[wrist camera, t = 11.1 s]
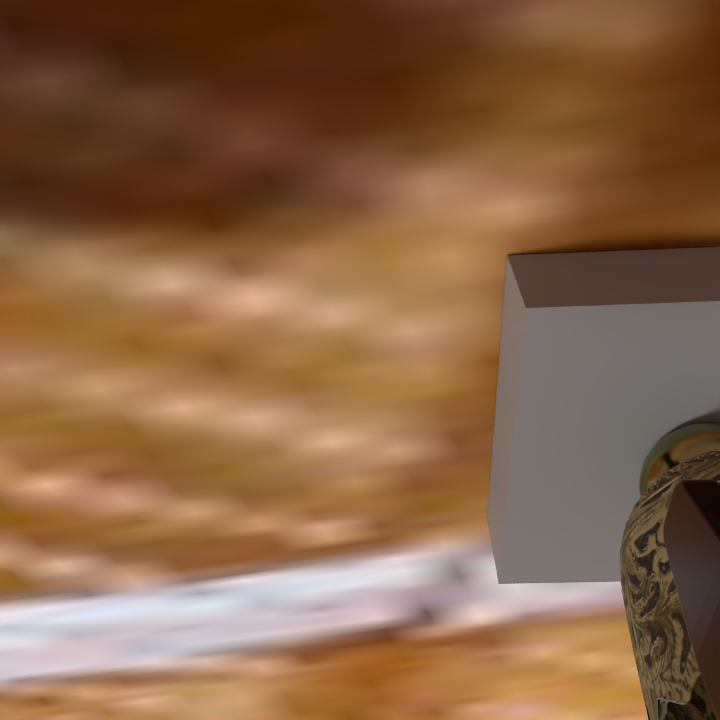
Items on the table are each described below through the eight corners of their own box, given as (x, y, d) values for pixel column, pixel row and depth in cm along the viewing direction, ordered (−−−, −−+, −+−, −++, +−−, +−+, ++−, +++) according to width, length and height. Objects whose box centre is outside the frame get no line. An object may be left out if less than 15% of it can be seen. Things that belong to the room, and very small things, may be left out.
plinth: (487, 517, 26) (498, 583, 24) (507, 255, 20) (525, 307, 17) (783, 510, 26) (826, 577, 23) (900, 239, 19) (976, 291, 17)
